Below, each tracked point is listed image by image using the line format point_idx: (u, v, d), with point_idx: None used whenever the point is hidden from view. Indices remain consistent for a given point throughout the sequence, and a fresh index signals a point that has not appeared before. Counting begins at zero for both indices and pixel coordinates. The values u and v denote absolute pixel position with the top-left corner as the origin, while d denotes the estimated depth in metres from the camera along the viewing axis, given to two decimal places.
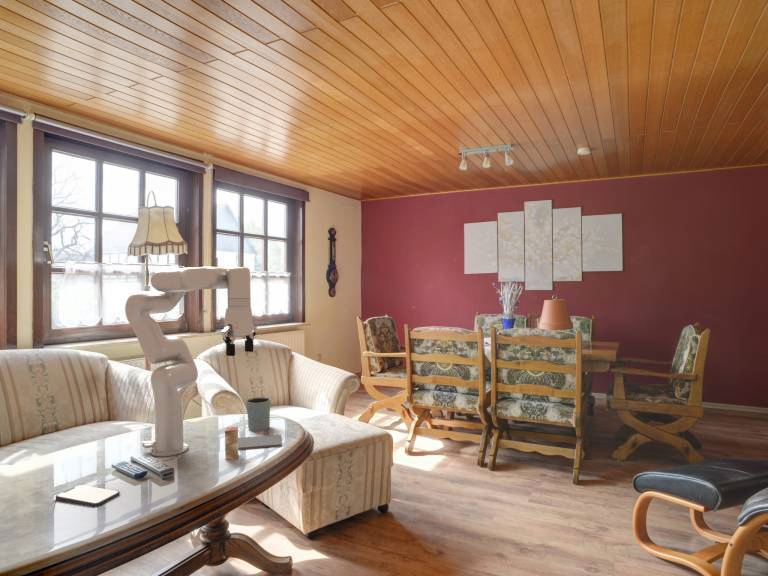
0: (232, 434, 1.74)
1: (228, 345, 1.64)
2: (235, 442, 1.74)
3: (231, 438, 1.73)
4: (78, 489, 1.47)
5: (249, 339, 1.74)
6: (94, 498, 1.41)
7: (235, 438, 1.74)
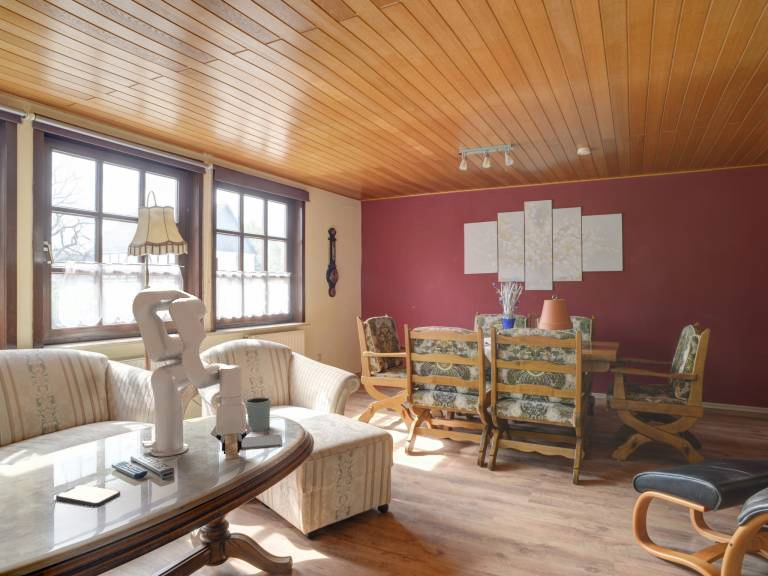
0: (232, 434, 1.74)
1: (241, 441, 1.76)
2: (235, 442, 1.74)
3: (231, 438, 1.74)
4: (79, 489, 1.47)
5: None
6: (94, 498, 1.41)
7: (235, 438, 1.74)
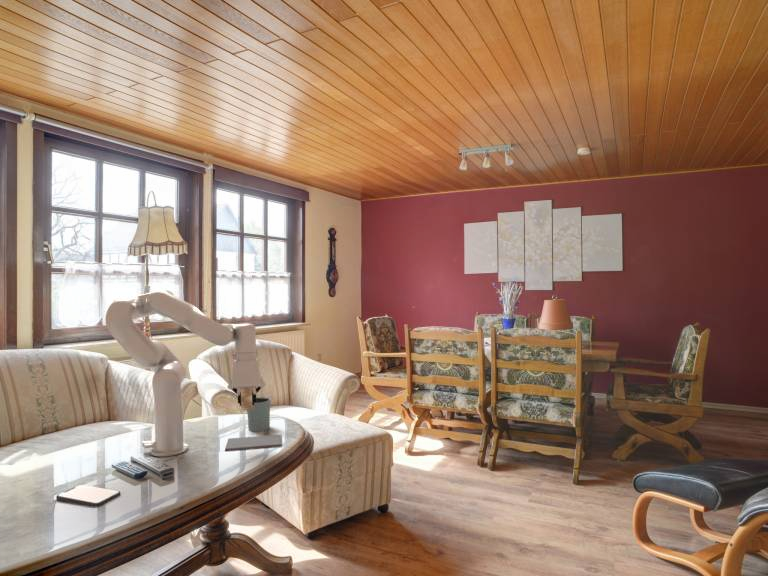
0: (247, 387, 1.86)
1: None
2: (250, 395, 1.86)
3: (246, 391, 1.86)
4: (79, 489, 1.47)
5: None
6: (95, 498, 1.41)
7: (250, 391, 1.86)
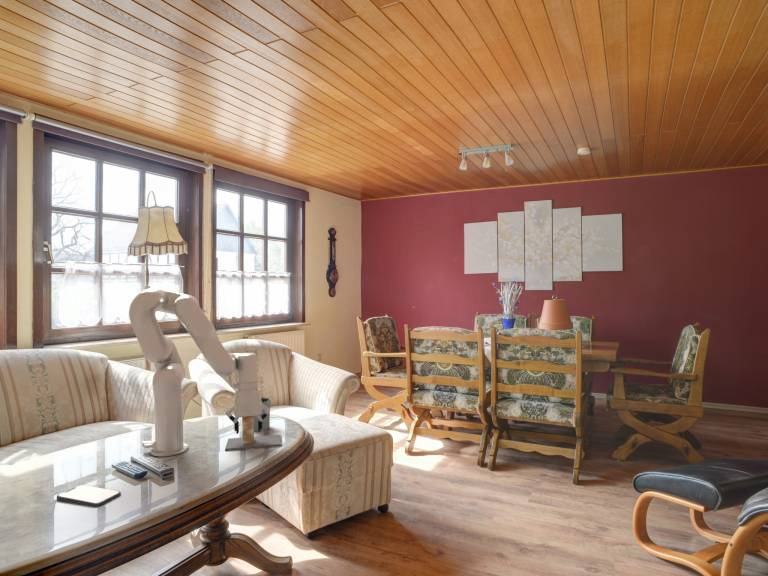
0: (249, 420, 1.87)
1: (261, 421, 1.90)
2: (251, 428, 1.88)
3: (248, 424, 1.87)
4: (79, 489, 1.47)
5: (237, 421, 1.89)
6: (95, 498, 1.41)
7: (251, 424, 1.87)
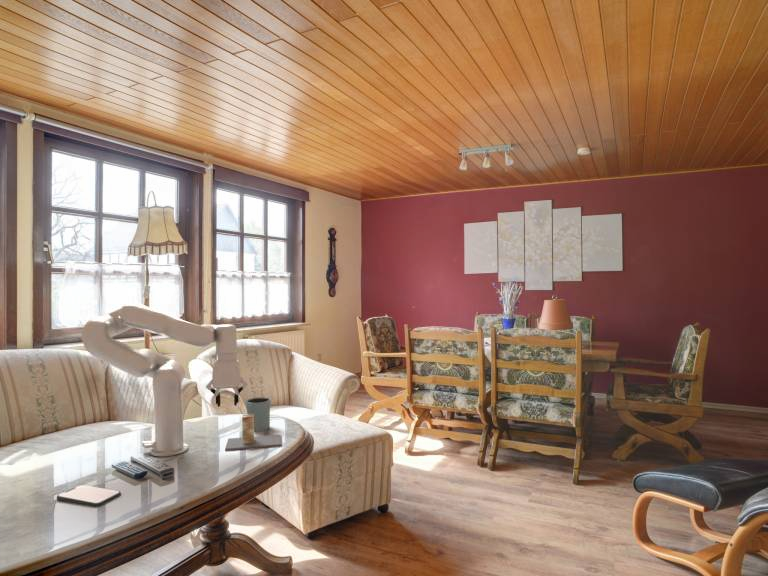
0: (249, 420, 1.87)
1: (238, 395, 1.88)
2: (251, 428, 1.88)
3: (248, 424, 1.87)
4: (79, 489, 1.47)
5: (219, 394, 1.87)
6: (95, 498, 1.41)
7: (251, 424, 1.87)
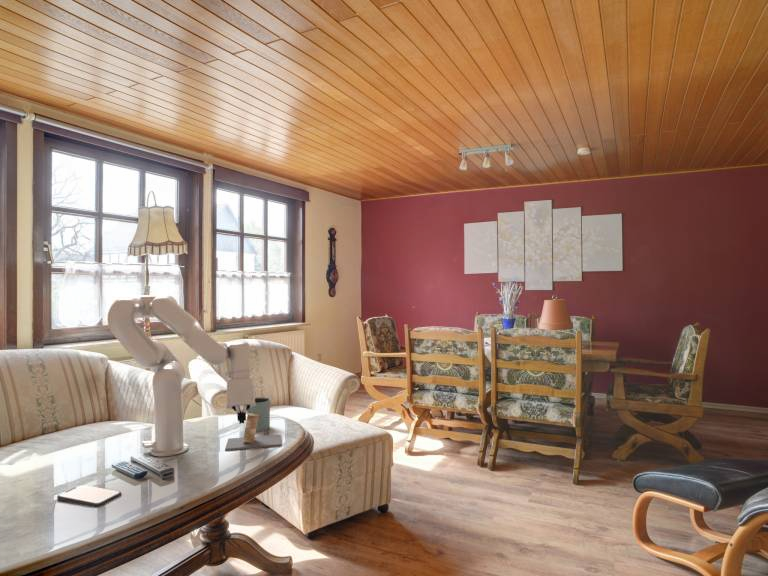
0: (253, 420, 1.88)
1: (245, 412, 1.89)
2: (254, 428, 1.88)
3: (251, 423, 1.87)
4: (80, 489, 1.47)
5: (240, 411, 1.89)
6: (96, 498, 1.41)
7: (255, 424, 1.88)
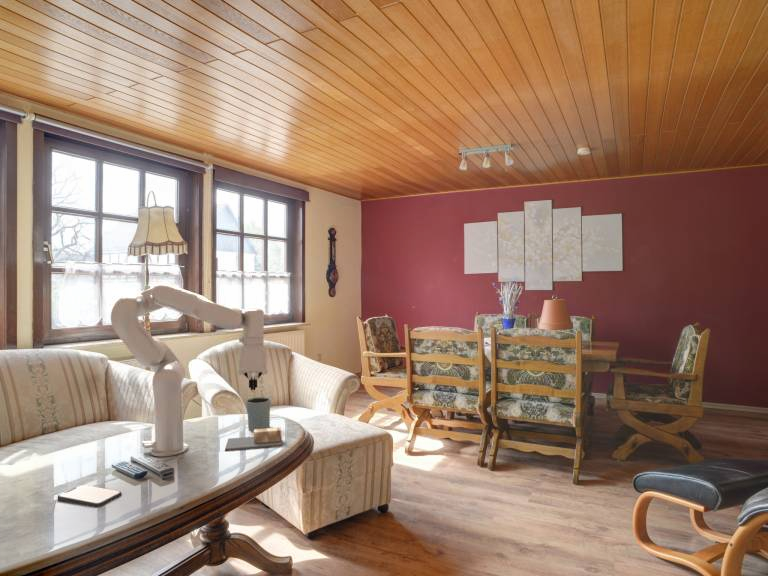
0: (276, 437, 1.89)
1: None
2: (269, 440, 1.89)
3: (273, 436, 1.89)
4: (80, 489, 1.47)
5: (252, 378, 1.90)
6: (96, 498, 1.41)
7: (272, 440, 1.89)
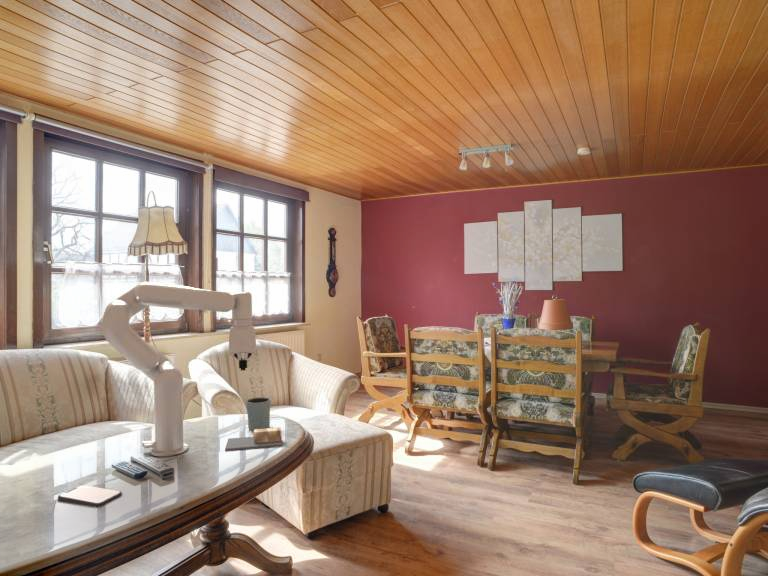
0: (276, 437, 1.89)
1: (246, 360, 1.95)
2: (269, 440, 1.89)
3: (273, 436, 1.89)
4: (80, 489, 1.47)
5: (242, 359, 1.95)
6: (96, 498, 1.41)
7: (272, 440, 1.89)
